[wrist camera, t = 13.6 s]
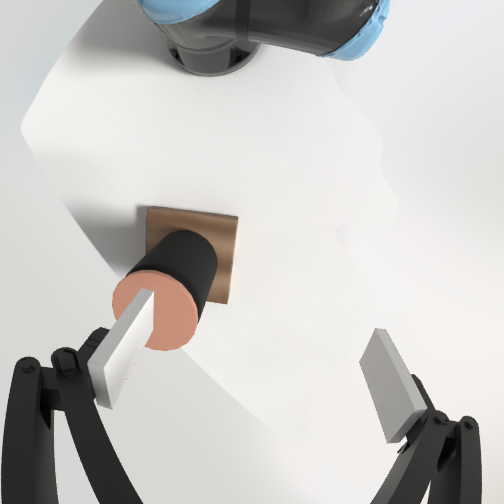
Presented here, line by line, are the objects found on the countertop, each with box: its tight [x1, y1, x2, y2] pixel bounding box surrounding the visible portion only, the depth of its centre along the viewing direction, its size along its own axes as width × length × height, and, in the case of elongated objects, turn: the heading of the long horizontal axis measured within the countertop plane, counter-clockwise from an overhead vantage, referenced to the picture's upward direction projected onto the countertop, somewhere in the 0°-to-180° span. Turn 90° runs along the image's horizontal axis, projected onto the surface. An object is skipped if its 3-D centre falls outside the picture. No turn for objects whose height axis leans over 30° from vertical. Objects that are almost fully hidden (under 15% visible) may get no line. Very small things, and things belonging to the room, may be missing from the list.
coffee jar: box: [112, 230, 218, 351], centre depth 41 cm, size 11×11×18 cm
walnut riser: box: [146, 206, 238, 304], centre depth 51 cm, size 15×15×3 cm
